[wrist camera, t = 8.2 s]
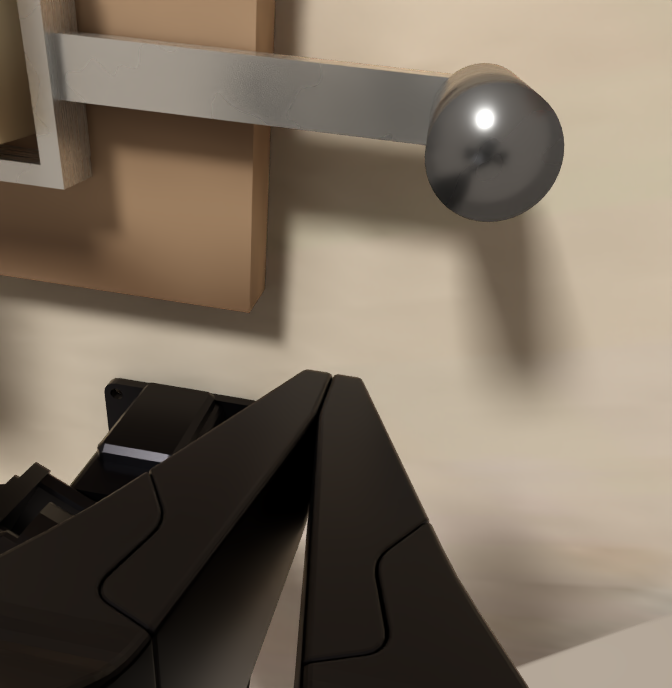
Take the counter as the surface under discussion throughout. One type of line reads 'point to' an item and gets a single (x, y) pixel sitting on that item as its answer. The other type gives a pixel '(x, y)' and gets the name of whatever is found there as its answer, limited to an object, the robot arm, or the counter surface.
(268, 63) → the sled
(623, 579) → the counter surface
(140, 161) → the tunnel deck
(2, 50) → the maple block
